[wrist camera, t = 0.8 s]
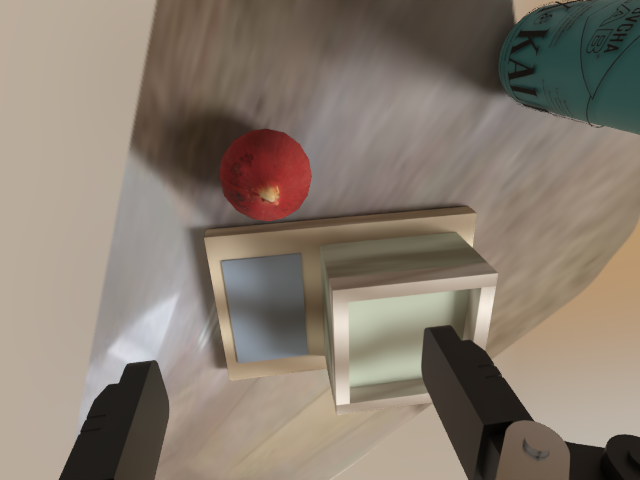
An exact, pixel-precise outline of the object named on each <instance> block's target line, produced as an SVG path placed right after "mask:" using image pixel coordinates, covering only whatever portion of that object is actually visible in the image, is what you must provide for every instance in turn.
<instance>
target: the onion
mask: <svg viewBox="0 0 640 480" xmlns="http://www.w3.org/2000/svg"><path fill="white" fill-rule="evenodd" d="M219 176H220V180H221V184H222V188H223V193H224V196H225V197H226V199H227V200H228V201H229V202H230V203H231V204H232V205H233V207H234V208H235V209H236V210H237V211H239V212H240V213H242V214H244V215H246V216H248V217H250V218H252V219H255V220H263V221H272V220H276V219H281V218H284V217H286V216H288V215H289V214H291V213H293V212H294V211H296V210H298V209H299V207H300V206H301V204H302V203H303V201H304V200H305V199H306V197H307V196H308V191H309V187H310V182H311V177H312V176H311V169H310V163H309V159H308V157H307V156H306V154H305V152H304V151H303V149H302V147H301V145H300V144H299V143H297V142H296V141H295V140H294V139H292V138H291V137H290V136H288V135H287V134H286V133H284V132H279V131H274V130H270V129H262V130H254V131H250V132H248V133H246V134H244V135H242V136H241V137H239V138H237V139H235V140H234V141H233V143H232V144H231V145H230V147H229V148H228V149H227V151H226V152H225V153H224V155H223V158H222V162H221V167H220V171H219Z"/></svg>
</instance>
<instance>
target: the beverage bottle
mask: <svg viewBox="0 0 640 480" xmlns="http://www.w3.org/2000/svg"><path fill="white" fill-rule="evenodd" d="M577 1H580V2H577ZM577 1H571V2H567V3H559V2H556V3H558V4H554V5H548V6H544V7H541V8H538V9H537V10H535V11H533V12H531V13H530V12H529V13H530V14H528V15H527V16H524V17H523V18H522V19H521V20H520V21H519V22H518V23H517V24H516V25H515V26H514V27H513V29H512V30H511V31H510V33H509V34H508V36H507V37H506V39H505V41H504V44H503V46H502V49H501V53H500V58H499V76H500V80H501V83H502V85H503V87H504V89H505V91H506V93H508V94H509V95H510V96H511V97H512V98H513V99H514V100H515V101H516V102H517V103H518V102H519V103H521V104H523V105H524V106H527V107H531V108H534V109H535V111H536V109H537V110H539V111H540V110H541V111H540V112H542V111H545V112H546V113H547V112H548V113H550V112H553V113H556V114H560V115H562V116H567V117H571V118H574V119H578V120H582V121H585V122H588V123H589V125H591V124H590V123H593V124H597V125H602V126H601V127H603V126H608V127H612V128H616V129H619V130H623V131H627V132H631V133H635V134H639V135H640V0H586V1H583V0H577ZM509 95H508V96H509ZM510 96H509V97H510ZM516 102H515V103H516ZM521 104H520V105H521ZM518 105H519V104H518ZM524 106H522V107H524ZM529 109H530V108H529ZM532 110H533V109H532ZM550 114H551V113H550ZM553 115H554V114H553ZM554 116H555V115H554ZM557 116H558V115H557ZM562 116H561V117H562ZM564 118H565V117H564ZM568 119H569V118H568ZM571 120H572V119H571ZM575 121H576V120H575ZM578 122H579V121H578ZM582 123H583V122H582ZM586 124H587V123H586ZM591 126H592V125H591ZM593 126H594V125H593ZM596 128H599V127H598V126H596Z"/></svg>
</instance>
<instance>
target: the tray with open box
mask: <svg viewBox="0 0 640 480" xmlns="http://www.w3.org/2000/svg"><path fill="white" fill-rule="evenodd" d="M476 216H477V213H476V212H475V211H474V210H472V209H471V208H470V207H469V206H465V207H454V208H442V209H431V210H420V211H409V212H397V213H386V214H375V215H364V216H352V217H341V218H330V219H319V220H307V221H296V222H285V223H274V224H262V225H251V226H240V227H229V228H217V229H206V232H205V236H204V241H205V246H206V252H207V257H208V263H209V268H210V274H211V279H212V285H213V290H214V296H215V301H216V307H217V312H218V318H219V323H220V329H221V335H222V340H223V346H224V351H225V357H226V362H227V368H228V373H229V379H230V381H232V380H240V379H248V378H256V377H264V376H272V375H280V374H288V373H296V372H304V371H312V370H320V369H327V370H328V375H329V380H330V385H331V389H332V394H333V399H334V404H335V409H336V414H337V415H342V414H349V413H356V412H364V411H371V410H378V409H386V408H393V407H401V406H408V405H415V404H423V403H430V402H432V400H431V398H430V395H429V393H428V391H427V389H426V387H425V384H424V381H423V377H422V372H421V360H422V348H423V336H424V330H425V328H427V327H435V326H443V325H451V326H452V327H453V328H454V330H455V332H456V333H457V335H458V336H459V338H460V339H461V341H462V340H471V341H473V342H474V343H475V344H477V345H478V346H480V347H481V348H482V349H484V350H485V348H486V342H487V336H488V331H489V325H490V319H491V313H492V307H493V301H494V295H495V289H496V283H497V277H498V272H497V271H496V270H494V269H493V268H492V267H491V266H490V265H489V264H488V263H487V262H486V261H485V260H484V259H483V258H482V257H481V256H480V255H479V254H478V253H477V252H476V251H475V250H474V249H473V248H472V246H473V239H474V231H475V224H476Z"/></svg>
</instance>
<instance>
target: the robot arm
mask: <svg viewBox="0 0 640 480" xmlns="http://www.w3.org/2000/svg"><path fill="white" fill-rule="evenodd" d="M421 372H422V377H423V381H424V384H425V387H426V389H427V391H428V393H429V395H430V398H431V400H432V402H433V404H434V406H435V408H436V411H437V413H438V415H439V417H440V419H441V421H442V424H443V426H444V428H445V430H446V432H447V434H448V437H449V439H450V441H451V443H452V445H453V447H454V450H455V452H456V454H457V456H458V458H459V460H460V463H461V465H462V467H463V469H464V471H465V473H466V476H467V478H468V480H640V437H637V436H633V435H626V434H624V435H616V436H614V437H612V438H611V439H609V441H608V442H607V445H606V447H605V448H602V447H595V446H588V445H582V444H575V443H570V442H566V441H563V439H562V438H561V437H560V436H559V435H558V434H557V433H556V432H555V431H553V430H552V429H550V428H549V427H547V426H545V425H543V424H541V423H537V422H535V421H534V420H533V419H532V417H531V416H530V414H529V413H528V412H527V410H526V409H525V407H524V406H523V405H522V403H521V402H520V400H519V399H518V397H517V396H516V394H515V393H514V392H513V390H512V389H511V387H510V386H509V384H508V383H507V382H506V380H505V379H504V378H502V375H501V373H500V371H499V370H498V369H497V367H496V366H494V363H493V361H492V360H491V359H490V357H489V356H488V354H487V353H486V351H485V350H484V349H482V348H481V347H480V346H478V345H477V344H475V343H474V342H473V341H471V340H462V341H461V339H460V338H459V336H458V335H457V333H456V332H455V330H454V328H453V327H452V326H451V325H443V326H435V327H427V328H425V330H424V336H423V348H422V360H421ZM168 419H169V400H168V395H167V392H166V389H165V385H164V382H163V379H162V375H161V372H160V369H159V365H158V363H157V361H155V360H153V361H145V362H136V363H129V364H127V365H126V367H125V369H124V371H123V374H122V377H121V379H120V382H119V383H118V384H110V385H108V386H107V387H106V388H105V389H104V390H103V391H102V392H101V393H100V394H99V396H98V397H97V398H96V399H95V400H94V402H93V404H92V406H91V409H90V411H89V413H88V415H87V420H85V422H84V424H83V426H82V429H81V434H80V435H78V438H77V440H76V442H75V444H74V447H73V449H72V451H71V453H70V456H69V458H68V460H67V462H66V465H65V467H64V469H63V471H62V473H61V476H60V478H59V480H154V479H155V474H156V470H157V466H158V462H159V457H160V453H161V449H162V445H163V440H164V436H165V432H166V428H167V423H168Z"/></svg>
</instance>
